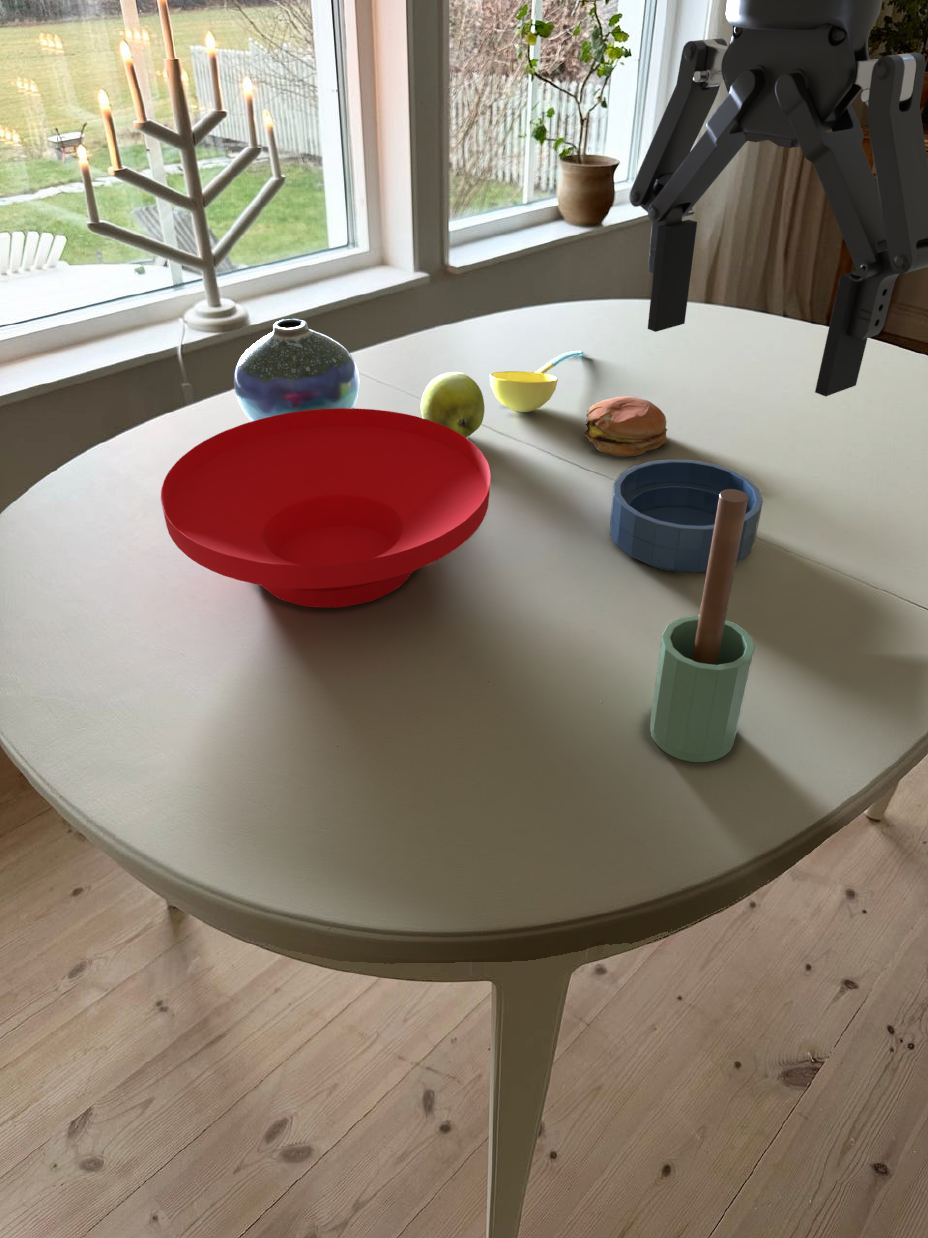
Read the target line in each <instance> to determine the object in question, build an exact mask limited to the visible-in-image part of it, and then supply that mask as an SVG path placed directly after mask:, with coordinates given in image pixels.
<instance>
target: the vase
mask: <svg viewBox="0 0 928 1238" xmlns="http://www.w3.org/2000/svg"><path fill="white" fill-rule="evenodd" d="M272 326H273V327H272V329H273V330H272V332H270V333H268V334H267V335H264V336H263V337H261V338H260V339H259V340H257V341H256V342H255V343H253V344H252V345H251V346H250V347H249V348H247V349H246V350H245V351H244V353H243V354H242V355H241V356H240V358H239V359H238V362H237V364H236V366H235V370H234V375H233V386H234V392H235V396H236V399H237V403H238V404H239V407H240V408H241V410H242V411H243V414H244V415H245V416H246V417H247V419H249V420H250V422H252V421H255V420H259V419H262V418H267V417H271V416H275V415H280V414H286V413H292V412H299V411H307V410H317V409H336V408H355V406H356V403H357V401H358V398H359V393H360V374H359V369H358V367H357V363H356V361H355V359H354V357H353V356H352V355H351V353H350V352H349V350H347V349H346V347H345V346H343V344H341V343H340V342H339V341H337V340H335V339H333V338H331V337H329V336H328V335H325V334H324V333H320V332H318V331H315V330H312V329H310V328H309V326H308V323H307V321H306V320H303V319H300V318H291V319H290V318H289V319H281V320H279V321H276V322H275V323H274V324H273V325H272Z"/></svg>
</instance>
